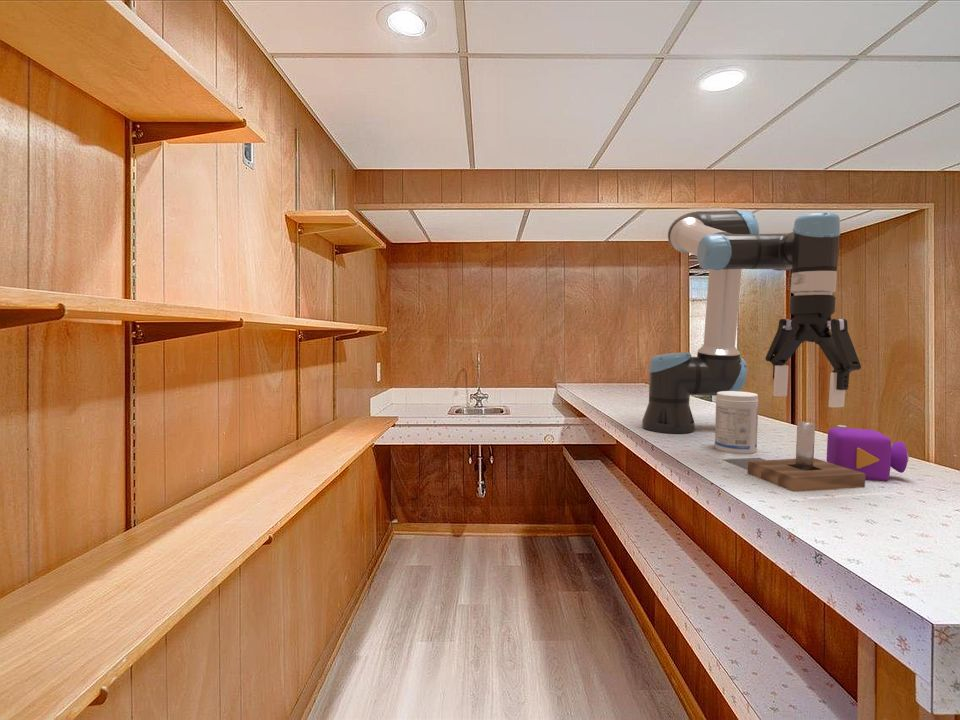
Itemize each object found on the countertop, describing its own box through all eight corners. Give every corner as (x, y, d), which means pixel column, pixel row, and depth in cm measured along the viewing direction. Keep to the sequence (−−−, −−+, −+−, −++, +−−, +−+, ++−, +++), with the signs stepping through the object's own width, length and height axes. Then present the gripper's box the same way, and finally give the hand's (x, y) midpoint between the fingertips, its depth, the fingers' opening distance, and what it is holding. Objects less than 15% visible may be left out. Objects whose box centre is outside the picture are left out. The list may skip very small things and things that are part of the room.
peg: (791, 479, 103) (793, 421, 102) (803, 479, 104) (806, 421, 103) (803, 484, 100) (806, 424, 99) (816, 483, 101) (818, 424, 100)
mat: (721, 461, 117) (721, 459, 117) (759, 459, 119) (759, 457, 119) (759, 476, 106) (759, 474, 106) (800, 473, 108) (800, 471, 108)
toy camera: (919, 486, 100) (922, 436, 99) (841, 481, 102) (844, 432, 102) (887, 471, 110) (889, 425, 110) (817, 467, 113) (819, 423, 112)
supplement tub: (728, 445, 134) (730, 389, 133) (764, 452, 126) (767, 394, 125) (706, 449, 129) (708, 392, 128) (742, 457, 121) (744, 396, 120)
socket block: (747, 475, 106) (748, 461, 106) (812, 471, 109) (813, 457, 109) (793, 493, 94) (794, 477, 94) (864, 488, 98) (865, 473, 97)
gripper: (750, 296, 111) (745, 392, 113) (854, 290, 87) (846, 413, 88) (780, 297, 112) (775, 391, 114) (890, 291, 88) (882, 411, 90)
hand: (806, 401), depth 101 cm, fingers open, 13 cm apart
